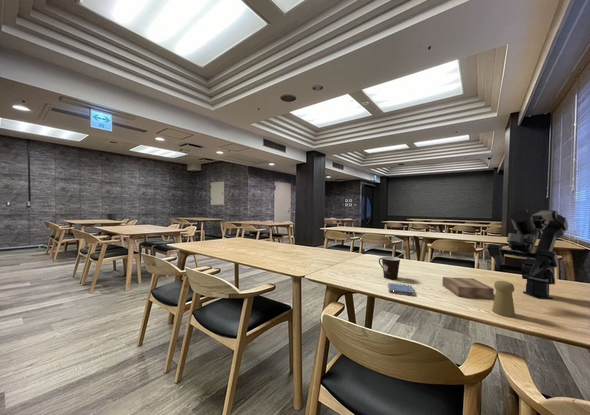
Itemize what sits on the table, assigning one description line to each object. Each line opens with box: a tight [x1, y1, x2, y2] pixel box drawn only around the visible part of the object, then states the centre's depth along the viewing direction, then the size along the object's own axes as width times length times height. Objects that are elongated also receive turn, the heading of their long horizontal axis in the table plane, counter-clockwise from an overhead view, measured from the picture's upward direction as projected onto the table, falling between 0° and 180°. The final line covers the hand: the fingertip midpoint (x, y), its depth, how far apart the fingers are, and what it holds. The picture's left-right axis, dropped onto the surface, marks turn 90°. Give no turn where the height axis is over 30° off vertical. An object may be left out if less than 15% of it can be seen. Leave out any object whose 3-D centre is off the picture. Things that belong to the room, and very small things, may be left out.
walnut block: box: [442, 276, 495, 300], centre depth 101 cm, size 13×13×4 cm
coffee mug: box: [378, 255, 401, 281], centre depth 120 cm, size 12×9×10 cm
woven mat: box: [387, 282, 416, 297], centre depth 101 cm, size 10×11×2 cm
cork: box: [491, 280, 516, 318], centre depth 81 cm, size 6×6×11 cm
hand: (512, 272), depth 84 cm, fingers open, 9 cm apart
